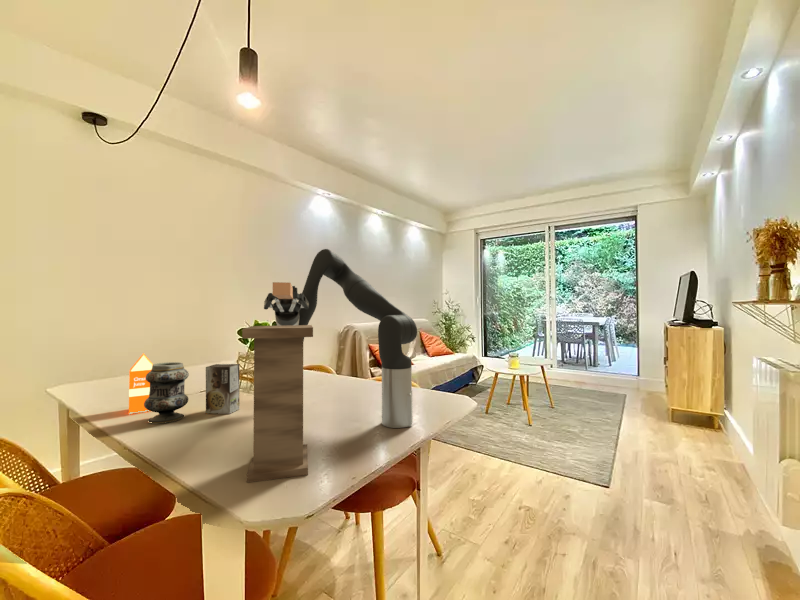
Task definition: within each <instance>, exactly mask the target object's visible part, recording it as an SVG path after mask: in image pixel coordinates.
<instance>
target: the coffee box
mask: <svg viewBox="0 0 800 600" xmlns="http://www.w3.org/2000/svg"><path fill="white" fill-rule="evenodd" d="M238 409H239V410H240V363H218V364H217V363H216V364H212V365H209V366H206V367H205V414H206V413H218V414H222V415H226V414H229V415H230V414H232V412H233V413H235V412H237V411H239V410H238ZM236 410H237V411H236Z"/></svg>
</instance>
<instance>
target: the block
mask: <svg viewBox="0 0 800 600" xmlns="http://www.w3.org/2000/svg"><path fill="white" fill-rule="evenodd" d="M292 286H293V285H292V283H291V282H278V281H277V282H275V281H274V282H272V294H273V296H275V297H277V298H279V299H293V287H292Z"/></svg>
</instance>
